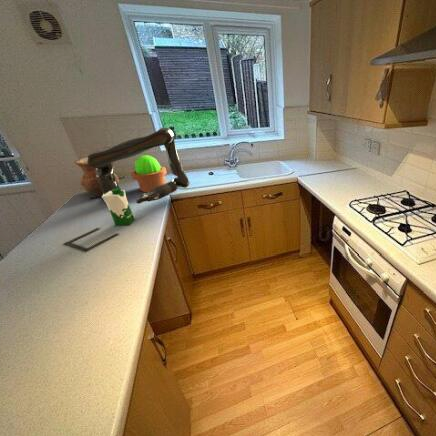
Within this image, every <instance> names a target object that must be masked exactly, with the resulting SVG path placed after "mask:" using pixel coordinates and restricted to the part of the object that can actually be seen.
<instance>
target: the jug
mask: <svg viewBox="0 0 436 436" xmlns="http://www.w3.org/2000/svg"><path fill="white" fill-rule="evenodd" d="M86 158H87V156H85V157H82V158H79V159H77V160H75V162H74V163H75V164H76V165H77V166H78V167H79V168H81V170H82V172H83V175H82V176H81V179H80V186H81V188H82V189H83V190H84V191H85V192H86V193H87V194H90V195H91V196H93V197H97V196H103V192H102V189H101V187H100V184H99V182H98V180H97V178H96V168H92V167H90V166H89V165H88V164H87V162H86ZM111 164H112V167H113V170H114V171H115V165H114V162H112V163H111ZM114 176H115V178H116V181H117V183H118V185H119V184H120V180H119V179H120V178H119V176H118V175H117V174H116V173H114Z"/></svg>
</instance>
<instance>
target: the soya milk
mask: <svg viewBox="0 0 436 436" xmlns="http://www.w3.org/2000/svg"><path fill="white" fill-rule="evenodd" d="M100 198H102V200H103V199H104V200H103V201H104V202H105V204H106V206H107V208H108V211H109V213H110V215H111V217H112V220H113V224H114V226H115V227H124V226H130V225H131V224H132V223H133V222H134V221H135V220H136V218H135V216H134V214H133V211H132V209H131V206H130V204H129V202H128V198H127V196H126V190H125V189H121V187H119V188H114V189H112V191H109V192H108V193H106V194H104V195H102V196H101V197H100Z"/></svg>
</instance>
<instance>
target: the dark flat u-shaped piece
mask: <svg viewBox="0 0 436 436" xmlns="http://www.w3.org/2000/svg"><path fill="white" fill-rule="evenodd" d="M98 230H99V228H98V227H96V228H94V229H92V230H90V231H88V232H85V233H84V234H82V235H80V236H77V237H75V238H73V239H70V240H69V241H67V242H64V243H63V244H64V245H66V246H68V247H71V248H74V249H77V250H80V251H83V252H88V251H90V250H92V249H94V248H95V247H97V246H99V245H101V244H103V243H105V242H107V241H109V240H110V239H113V238H115V237H117V236H118V235H119V234H118V233H114V234H112V235H110V236H108V237H107V238H104V239H102V240H101V241H99V242H97V243H95V244H93V245H91V246H89V247H87V248H86V247H84V246H81V245H78V244H75V243H73V242H75V241H77V240H79V239H81V238H84V237H85V236H87V235H90V234H92V233H94V232H96V231H98Z"/></svg>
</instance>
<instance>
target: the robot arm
mask: <svg viewBox="0 0 436 436" xmlns="http://www.w3.org/2000/svg"><path fill="white" fill-rule="evenodd" d="M162 146H163V147H164V148H165V151H166V156H167V161H168V165H169V168H170V171H171V173H172V175H173V176H175V177H173V178H172V179H171V180H169V181H167V182H166V183H165V184H162V185H159V186H157V187H155V188H153V189H152V190H151V192H142V193H141V194H140V195H139V197H140V198H138V199H136V200H135V202H136V204H142V203H145V202H148V203H149V202H153V201H158V200H161V199H163V198H166V197H167V196H169V195H170V194H173V193H174V192H177V190H178V189H179V188H180V189H187V188H188V187H189V186H190V180H189V178H188V176H187V174H186V173H185V171H184V168H183V166H182V163H181V160H180V156H179V154H178V151H177V147H176V141H175V134H174V132H173V131H172V129H170V128H169V127H160V128H158V130H156V131H154V132H152V133H151V134H149V135H145V136H140V137H135V138H131V139H127V140H124V141H122V142H120V143H118V144H116V145H114V146H112V147H110V148H108V149H105V150H95V151H92V152H90V153H89V154H88V155H87V156H86V157H87V158H86V162H87V164H88V165H89V166H90V167H92V168H96V178H97V180H98V182H99V184H100V187H101V189H102V192H103V195H104V194H106V193H108V192H109V191H112V189H114V188H120V186H119V184H118V183H117V181H116V178H115V176H114V174H115V169H114V170H113V167H112V164H111V163H112V162H113V163H114V162H118V161H121V160H125V159H130V158H132V157H135V156H138V155H141V154H143V153H145V152H147V151H149V150H151V149H154V148H157V147H162ZM103 195H102V196H103ZM98 198H102V197H101V196H91V197H89V199H90V200H91V199H98ZM102 200H103V201H104V199H103V198H102Z"/></svg>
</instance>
